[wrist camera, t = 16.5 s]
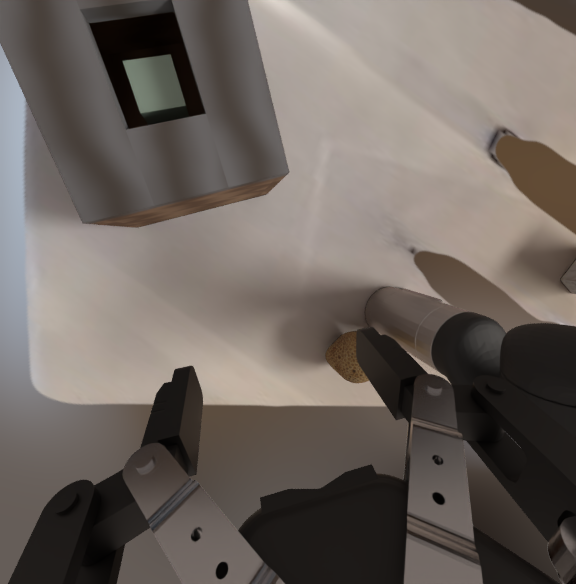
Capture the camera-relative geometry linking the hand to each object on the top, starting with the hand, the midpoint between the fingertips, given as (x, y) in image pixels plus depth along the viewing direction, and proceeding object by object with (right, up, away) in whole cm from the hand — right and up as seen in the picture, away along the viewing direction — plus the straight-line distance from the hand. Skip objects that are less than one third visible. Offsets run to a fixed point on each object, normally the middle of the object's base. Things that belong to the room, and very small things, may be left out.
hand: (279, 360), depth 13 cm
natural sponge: (+11, -7, +39) cm, 41 cm away
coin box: (-15, +26, +25) cm, 39 cm away
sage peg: (-15, +26, +24) cm, 39 cm away
